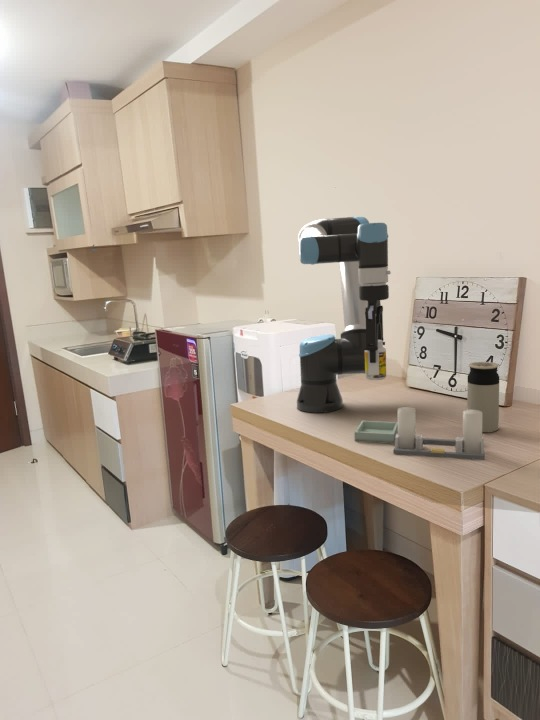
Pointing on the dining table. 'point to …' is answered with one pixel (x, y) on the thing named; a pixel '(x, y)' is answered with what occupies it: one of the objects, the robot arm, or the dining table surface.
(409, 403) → the dining table surface
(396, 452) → the twin cylinder holder
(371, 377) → the supplement bottle
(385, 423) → the tray
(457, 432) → the dining table surface
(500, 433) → the dining table surface
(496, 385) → the travel mug
